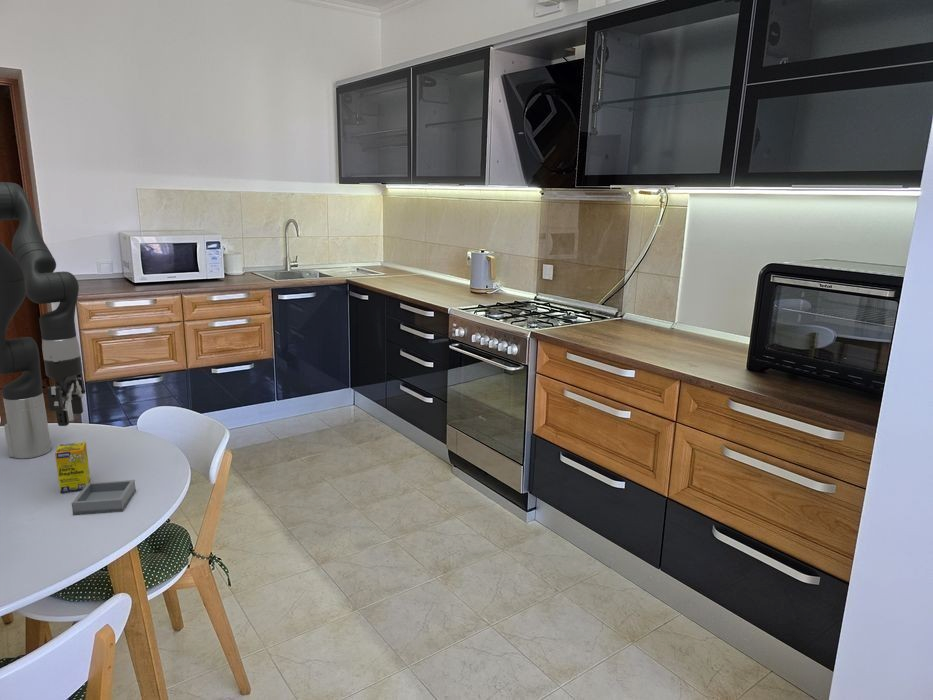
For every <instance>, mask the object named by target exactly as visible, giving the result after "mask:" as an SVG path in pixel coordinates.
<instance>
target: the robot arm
mask: <svg viewBox="0 0 933 700" xmlns="http://www.w3.org/2000/svg"><path fill="white" fill-rule="evenodd" d="M13 220H17V221H18V222H19V224H18V227H17V229H16V231H15V233H14V235H13V237H12V241H11V250H12V252H11V251H10V250H9V249H8V248H7V246H5V244H4V243H3V242H2V241H1V240H0V375H7V374H14V373H18V372H22V373H21V375H20V376H18V377H17V378H16V379H15V380H13V381H11V382H8V383H7V384H5V385H4V386H3V387H2V388H1V394H2V395H1V396H2V399H3V406H4V410H5V411H4V412H5V418H6V419H5V420H6V423H4V425H3V427H4V434H5V440H6V446H7V452H8V457H9V458H15V459H31V458H37V457H40V456H43V455H45V454H48V453H49V452H51V450H52V445H51V443H52V442H51V439H50V438H51V437H50V431H49V429H50V428H49V424H48V417H47V411H46V410H47V409H46V406H45V404H46V403H45V398H44V393H43V392H44V391H43V380H42V372H41V371H42V370H41V358H40V352H39V346H38V344H37V342H36V341H35V339H34V338H33V337H31V336H24V337H15V338H8V339H6V336H7V331H8V326H10V323H11V321H12V319H13V318H14V316H15V315H16V313H17V311H18V310H19V309H20V308H21V306H22V304H23V303H24V301H25V298H26V297H27V298H28V300H30V301H31V302H32V303H34V304H38V305H42V304H43V305H45V304H51V303H53V304H54V303H59V304H58V306H57V308H56V309H54V310H52V311H48V312H46V313H43V314H41V315H40V316H39V320H38V321H39V327H40V329H39V330H40V334H41V335H40V336H41V349H42V351H41V352H42V357H43V362H44V364H43V365H44V370H45V376H47V377H48V378H50V379H53V385H52V386H51V385H50V386H47V389H46V390H47V398H48V405H49V411H50V412H55V413H56V415H55V416H56V420H57V425H58V426H59V427H67V426H68V425H70V419H69V412H68V405H69V404H68V403H70V402H71V403H70V404H71V408H72V413H73V414H74V415H80V414H82V413H84V407H83V406H84V405H83V400H82V399H83V398H84V394H86V387H85V380H84V376H83V375H84V374H83V366H82V365H83V364H82V356H81V352H80V351H81V350H80V344H79V340H78V337H77V330H76V324H75V315H76V307H77V301H78V297H79V289H80V288H79V282H78V280H77V278H76V277H75V275H74V274H73V273H72V272H70V271H63V270H62V271H55V270H56V268H57V262H56V259H55V258H54V255H53V254H52V252H51V251H50V249H49V247H48V246H47V244H46V243H45V241H44V238H43V237H42V235H41V232H40V229H39V226H38V223H37V220H36V218H35V214H34V212H33V209H32V206H31V202H30V201H29V199H28V196H27V194H26V192H25V191H24V189H23V188H22V187H21V185H20V184H17V183H15V182H7V181H3V182H2V181H0V221H13Z"/></svg>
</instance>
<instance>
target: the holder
mask: <svg viewBox="0 0 933 700" xmlns="http://www.w3.org/2000/svg"><path fill="white" fill-rule="evenodd" d="M136 491H137V489H136V482H135V479H130V480H113V481H99V482H98V481H97V482H90V483H88V484H87V485H86V486H85V487H84V489H83V490H80V492H79V493H78V494H77V496H76V497H75V498H74V500H73V501H72V502H71V511H72V515H73V516H77V515H78V516H80V515H91V514H92V515H93V514H105V513H107V514H108V513H118V512H124V511H125V508H126V507H127V506H128V503H130V501H131V499H132V498H133V496H134V495H135V493H136Z"/></svg>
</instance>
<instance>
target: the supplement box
mask: <svg viewBox="0 0 933 700" xmlns="http://www.w3.org/2000/svg"><path fill="white" fill-rule="evenodd" d="M57 446H58V447H57V449H56V451H55V453H54V454H55V463H56V469H57V476H58V477H57V478H58V484H59V493H60V494H65V493H71V492H72V493H73V492H79V491H80V492H81V491H82V490H83V489H84V487H85V486H86V485H87V484H88V483H91V473H90V467H89V458H88V457H89V456H88V450H87V449H88V448H87V443H86V441H82V442H74V443H66V444H58V445H57Z"/></svg>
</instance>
